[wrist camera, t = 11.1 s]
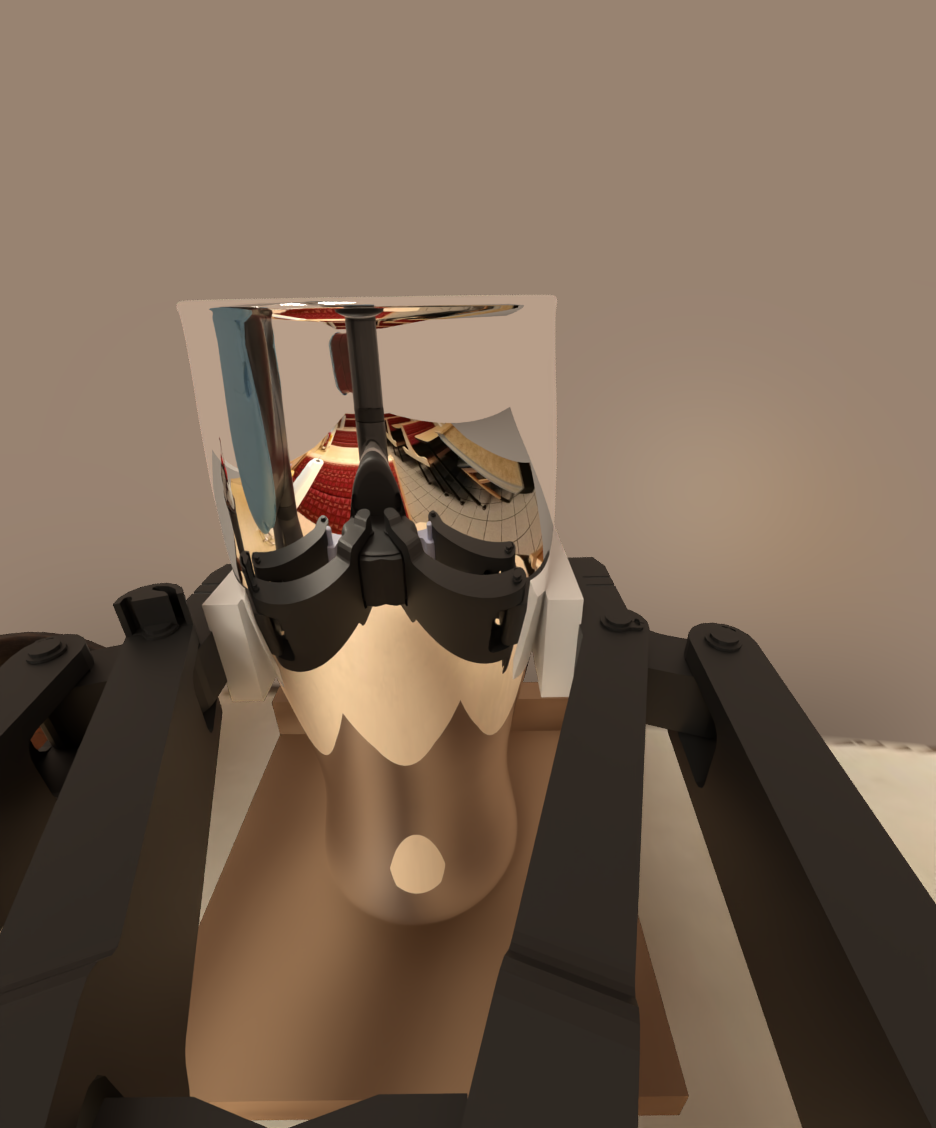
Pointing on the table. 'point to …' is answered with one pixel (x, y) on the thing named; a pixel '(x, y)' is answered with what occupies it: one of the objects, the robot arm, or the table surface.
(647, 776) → the table surface
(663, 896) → the table surface
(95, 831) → the robot arm
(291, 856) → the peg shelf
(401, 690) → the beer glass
